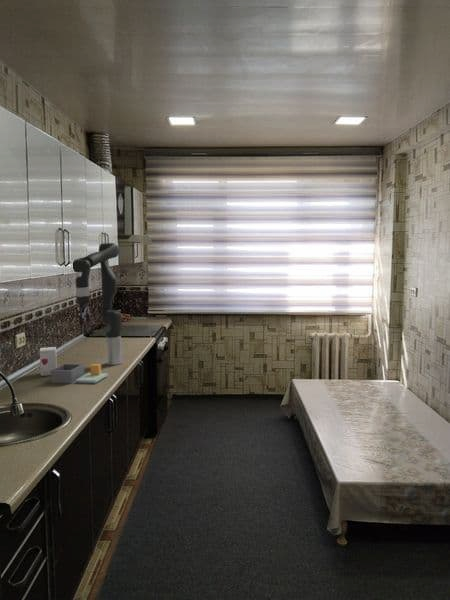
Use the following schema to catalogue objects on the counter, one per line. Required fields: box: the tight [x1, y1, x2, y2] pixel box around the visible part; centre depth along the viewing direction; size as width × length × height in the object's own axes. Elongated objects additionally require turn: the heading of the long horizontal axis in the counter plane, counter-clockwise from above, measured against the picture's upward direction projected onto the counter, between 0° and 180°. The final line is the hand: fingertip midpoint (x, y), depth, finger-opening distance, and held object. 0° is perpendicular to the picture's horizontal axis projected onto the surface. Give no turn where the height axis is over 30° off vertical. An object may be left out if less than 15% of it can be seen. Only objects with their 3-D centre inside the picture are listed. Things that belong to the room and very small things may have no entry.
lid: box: [75, 363, 109, 384], centre depth 286 cm, size 15×12×8 cm
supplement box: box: [39, 346, 58, 377], centre depth 302 cm, size 9×9×15 cm
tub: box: [50, 363, 85, 384], centre depth 288 cm, size 15×12×7 cm
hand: (84, 323), depth 294 cm, fingers open, 8 cm apart
